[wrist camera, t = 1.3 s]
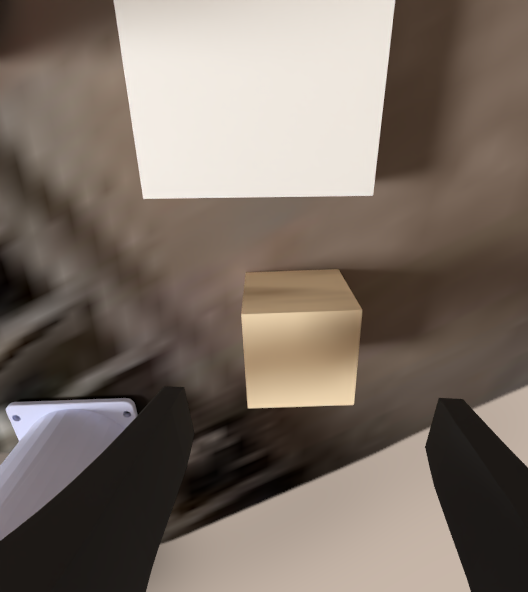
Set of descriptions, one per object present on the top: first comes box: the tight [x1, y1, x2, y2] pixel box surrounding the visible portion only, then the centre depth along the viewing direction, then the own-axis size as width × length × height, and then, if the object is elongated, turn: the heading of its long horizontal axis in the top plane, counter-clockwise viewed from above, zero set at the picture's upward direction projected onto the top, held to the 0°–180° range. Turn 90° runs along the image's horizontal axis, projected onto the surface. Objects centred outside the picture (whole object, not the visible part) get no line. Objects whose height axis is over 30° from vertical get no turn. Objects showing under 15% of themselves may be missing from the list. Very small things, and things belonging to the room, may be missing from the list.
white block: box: [114, 0, 395, 199], centre depth 14 cm, size 9×9×4 cm
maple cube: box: [241, 269, 362, 408], centre depth 18 cm, size 5×5×5 cm
